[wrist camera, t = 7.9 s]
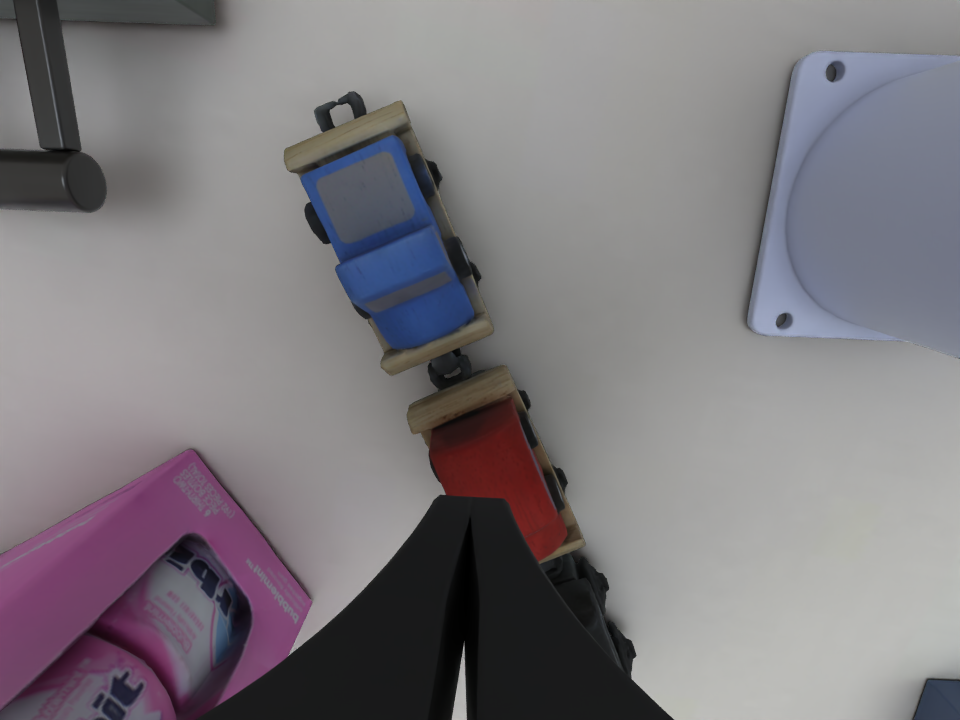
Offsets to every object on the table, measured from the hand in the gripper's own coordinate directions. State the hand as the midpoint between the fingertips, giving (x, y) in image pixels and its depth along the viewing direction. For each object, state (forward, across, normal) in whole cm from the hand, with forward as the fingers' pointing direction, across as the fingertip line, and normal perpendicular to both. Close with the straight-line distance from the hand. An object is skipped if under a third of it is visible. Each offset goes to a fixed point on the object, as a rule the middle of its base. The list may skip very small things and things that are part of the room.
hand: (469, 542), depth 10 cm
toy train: (+9, 0, +2) cm, 9 cm away
